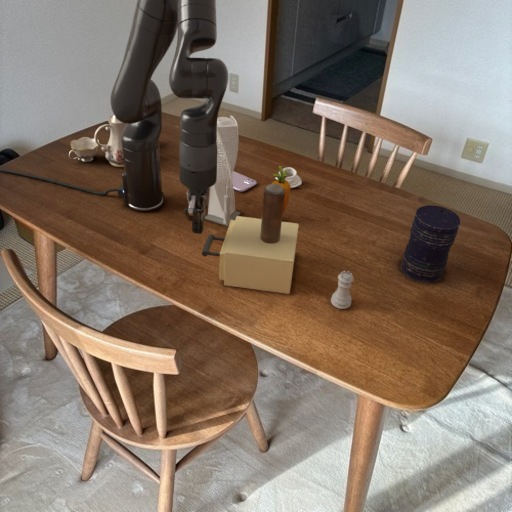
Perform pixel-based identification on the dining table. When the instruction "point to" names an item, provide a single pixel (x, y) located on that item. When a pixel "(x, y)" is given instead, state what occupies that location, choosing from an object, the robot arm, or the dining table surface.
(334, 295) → the rook chess piece
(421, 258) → the storage jar
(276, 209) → the pepper mill
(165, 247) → the dining table surface
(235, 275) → the cabinet
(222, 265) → the drawer
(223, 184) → the skyscraper
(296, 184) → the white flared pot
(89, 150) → the chinaware
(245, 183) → the mobile phone
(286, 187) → the carrot
